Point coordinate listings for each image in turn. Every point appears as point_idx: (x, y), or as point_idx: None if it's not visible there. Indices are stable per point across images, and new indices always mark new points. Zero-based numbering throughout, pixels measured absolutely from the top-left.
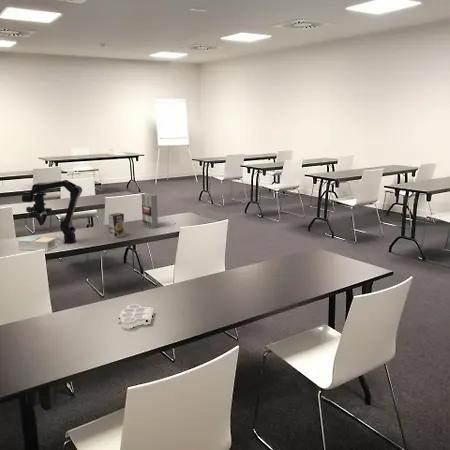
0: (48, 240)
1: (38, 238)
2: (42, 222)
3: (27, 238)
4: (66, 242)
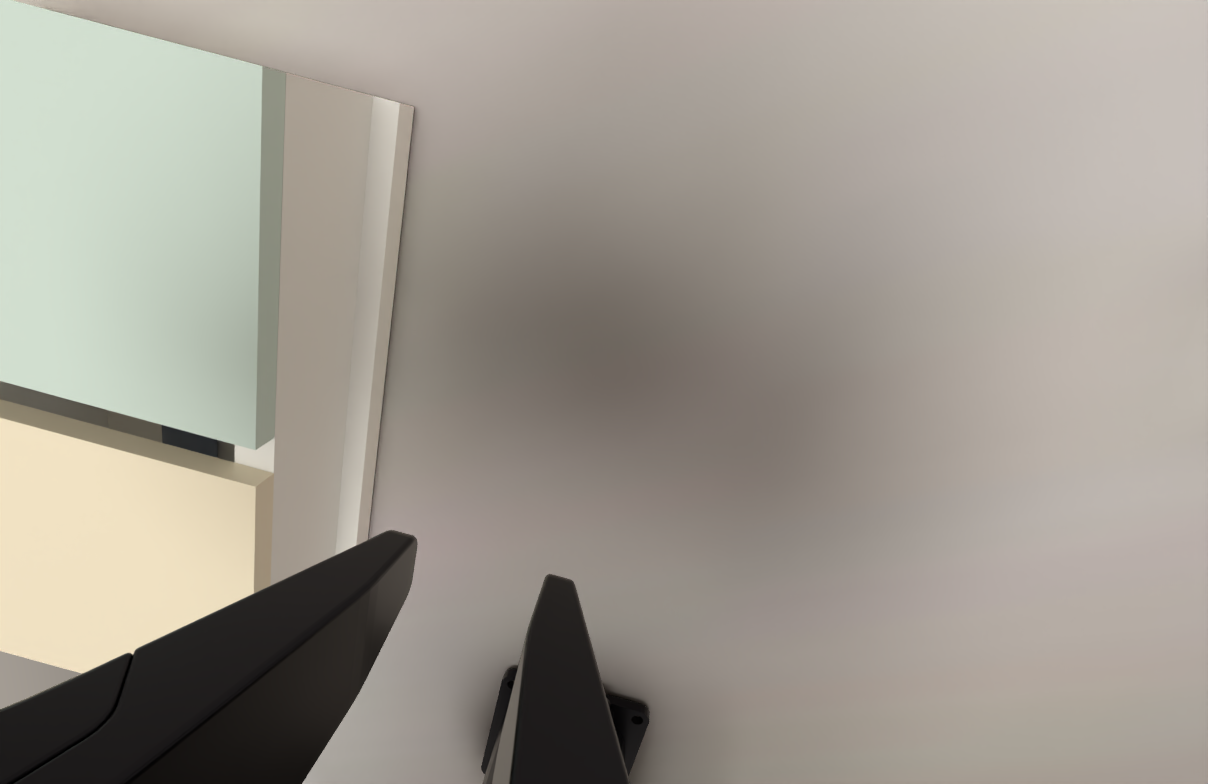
0: (65, 644)
1: (166, 423)
2: (514, 685)
3: (79, 148)
4: (507, 708)
